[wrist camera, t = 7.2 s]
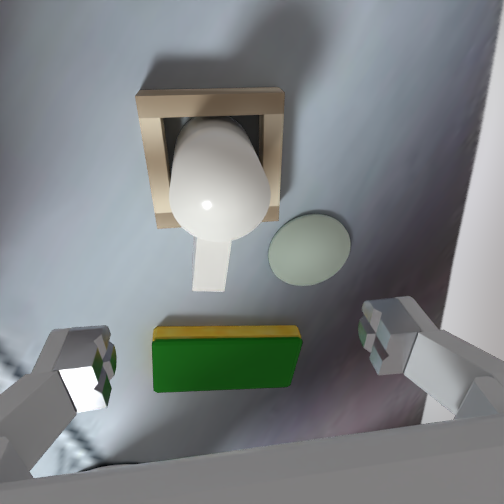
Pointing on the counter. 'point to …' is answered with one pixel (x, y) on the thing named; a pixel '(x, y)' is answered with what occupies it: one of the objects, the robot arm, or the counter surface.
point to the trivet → (309, 249)
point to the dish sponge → (224, 357)
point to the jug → (216, 193)
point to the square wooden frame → (209, 104)
